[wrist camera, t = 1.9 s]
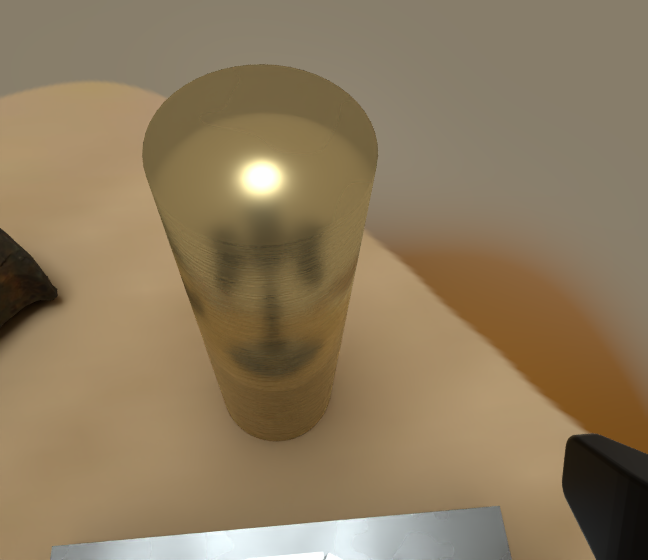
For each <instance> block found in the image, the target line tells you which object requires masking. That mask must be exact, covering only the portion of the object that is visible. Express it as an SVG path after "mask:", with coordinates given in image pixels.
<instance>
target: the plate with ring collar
mask: <svg viewBox="0 0 648 560" xmlns="http://www.w3.org/2000/svg"><path fill="white" fill-rule="evenodd" d="M50 560H512V559H511V554H510V550H509V545H508V541H507V537H506V532H505V528H504V523H503V519H502V514H501V510H500V506H493V507H482V508H470V509H459V510H448V511H437V512H426V513H415V514H404V515H393V516H382V517H371V518H360V519H349V520H338V521H327V522H316V523H305V524H293V525H282V526H271V527H260V528H249V529H238V530H227V531H216V532H205V533H194V534H183V535H172V536H161V537H150V538H139V539H127V540H116V541H105V542H94V543H83V544H72V545H61V546H52V551H51V558H50Z"/></svg>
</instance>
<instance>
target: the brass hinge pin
mask: <svg viewBox="0 0 648 560" xmlns="http://www.w3.org/2000/svg"><path fill="white" fill-rule="evenodd" d="M377 145H378V144H377V139H376V135H375V131H374V129H373V126H372V124H371V121H370V120H369V118H368V116H367V115H366V113H365V111H364V110H363V109H362V108H361V106H360V105H359V104H358V103H357V102H356V101H355V100H354V99H353V98H352V97H351V96H350V95H349V94H348V93H347V92H345V91H344V90H343V89H341V88H340V87H339V86H337V85H335V84H334V83H332V82H330V81H329V80H327V79H324V78H322V77H320V76H318V75H316V74H313V73H310V72H307V71H304V70H300V69H296V68H292V67H286V66H279V65H265V64H259V65H243V66H235V67H231V68H226V69H221V70H219V71H215V72H212V73H209V74H206V75H204V76H202V77H199V78H197V79H195V80H193V81H192V82H190V83H188V84H186V85H185V86H183V87H182V88H180V89H179V90H177V91H176V92H175V93H174V94H172V95H171V96H170V97H169V98H168V99H167V100H166V101H165V102H164V103H163V104H162V105H161V107H160V108H159V109H158V110H157V111H156V113H155V115H154V116H153V118H152V120H151V121H150V123H149V126H148V128H147V131H146V133H145V138H144V142H143V152H142V157H143V166H144V170H145V173H146V177H147V180H148V183H149V186H150V189H151V191H152V194H153V197H154V200H155V203H156V206H157V209H158V212H159V214H160V217H161V220H162V223H163V226H164V229H165V232H166V235H167V237H168V240H169V243H170V246H171V249H172V252H173V255H174V258H175V260H176V263H177V266H178V269H179V272H180V275H181V278H182V280H183V283H184V286H185V289H186V292H187V295H188V298H189V301H190V303H191V306H192V309H193V312H194V315H195V318H196V321H197V324H198V326H199V329H200V332H201V335H202V338H203V341H204V344H205V347H206V349H207V352H208V355H209V358H210V361H211V364H212V367H213V370H214V372H215V375H216V378H217V381H218V384H219V387H220V390H221V392H222V395H223V398H224V401H225V404H226V407H227V409H228V412H229V414H230V416H231V417H232V419H233V420H234V421H235V423H236V424H237V425H238V426H239V427H240V428H241V429H243V430H244V431H245V432H247V433H248V434H250V435H252V436H254V437H256V438H260V439H263V440H268V441H284V440H289V439H293V438H295V437H298V436H300V435H302V434H304V433H306V432H307V431H309V430H310V429H311V428H312V427H314V426H315V425H316V424H317V423H318V421H319V420H320V419H321V417H322V416H323V414H324V413H325V411H326V408H327V406H328V403H329V399H330V395H331V390H332V385H333V380H334V375H335V370H336V365H337V360H338V355H339V350H340V345H341V340H342V335H343V330H344V325H345V320H346V315H347V310H348V305H349V300H350V295H351V291H352V286H353V281H354V276H355V271H356V266H357V261H358V256H359V251H360V246H361V241H362V236H363V231H364V226H365V221H366V216H367V211H368V206H369V201H370V196H371V191H372V186H373V181H374V177H375V171H376V166H377V159H378V146H377Z"/></svg>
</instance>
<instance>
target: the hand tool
mask: <svg viewBox="0 0 648 560" xmlns="http://www.w3.org/2000/svg"><path fill="white" fill-rule="evenodd" d="M56 297H57V289H56V288H55V287H54V286H53V285H52V284H51V282H50V280H49V279H48V276H46V275H45V273H44V272H43V271H42V269H41V268H40V267H39V265H38V264H37V263H36V261H35V260H34V259H33V258H32V256H31V255H30V254H29V253H28V252H27V251H25V250H24V249H23V248H22V247H21V246H20V245H19V244H17V243H16V242H15V241H14V240H13V239H12V238H11V237H10V236H9V235H8V234H7V233H6V232H4V231H3V230H2V229H1V228H0V327H1V326H2V325H3V324H4V323H5V322H6V321H8V320H9V319H10V318H11V317H12V316H13V315H15V314H16V313H17V312H19V311H20V310H21V309H22V308H24V307H25V306H27V305H29V304H31V303H33V302H35V301H38V300H54V299H55V298H56Z"/></svg>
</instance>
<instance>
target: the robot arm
mask: <svg viewBox="0 0 648 560" xmlns="http://www.w3.org/2000/svg"><path fill="white" fill-rule="evenodd" d="M562 488H563V492H564V496H565V498H566V500H567V502H568V504H569V506H570V508H571V510H572V512H573V514H574V516H575V518H576V520H577V522H578V524H579V526H580V528H581V530H582V532H583V534H584V536H585V538H586V540H587V542H588V544H589V546H590V548H591V550H592V552H593V554H594V556H595V558H596V560H648V454H646V453H643V452H641V451H638V450H636V449H633V448H631V447H628V446H626V445H623V444H621V443H619V442H616V441H614V440H611V439H609V438H606V437H604V436H601V435H598V434H581V435H572V436H571V437H570V438H569V439H568V440H567V443H566V449H565V458H564V467H563V476H562Z"/></svg>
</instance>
